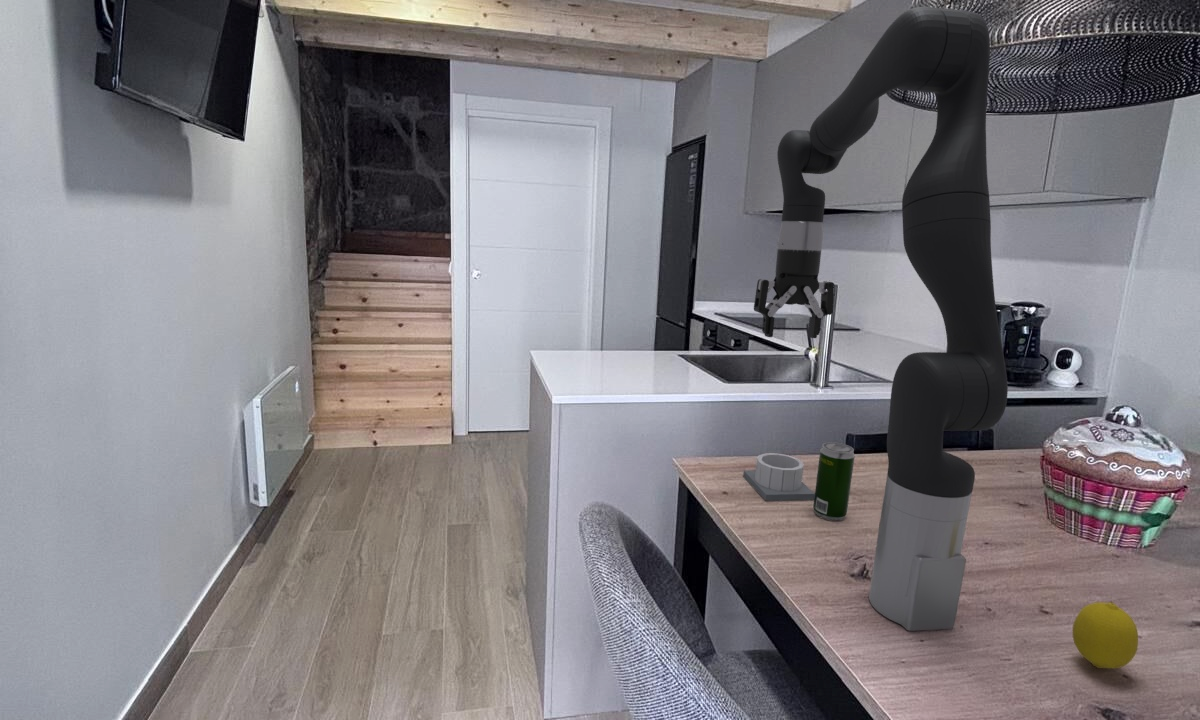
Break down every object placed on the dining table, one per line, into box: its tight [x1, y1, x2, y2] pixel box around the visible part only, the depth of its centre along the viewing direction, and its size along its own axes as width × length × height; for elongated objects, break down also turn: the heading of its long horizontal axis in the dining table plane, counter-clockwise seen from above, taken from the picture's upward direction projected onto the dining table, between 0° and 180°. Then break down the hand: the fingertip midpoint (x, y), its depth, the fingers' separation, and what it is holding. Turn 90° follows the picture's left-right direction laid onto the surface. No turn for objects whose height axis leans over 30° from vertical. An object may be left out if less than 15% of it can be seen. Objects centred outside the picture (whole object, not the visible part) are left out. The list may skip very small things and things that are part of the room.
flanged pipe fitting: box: [742, 452, 815, 502], centre depth 113 cm, size 11×9×5 cm
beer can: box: [812, 441, 855, 522], centre depth 102 cm, size 5×5×12 cm
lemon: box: [1072, 601, 1139, 669], centre depth 68 cm, size 6×6×8 cm
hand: (790, 337), depth 113 cm, fingers open, 8 cm apart
